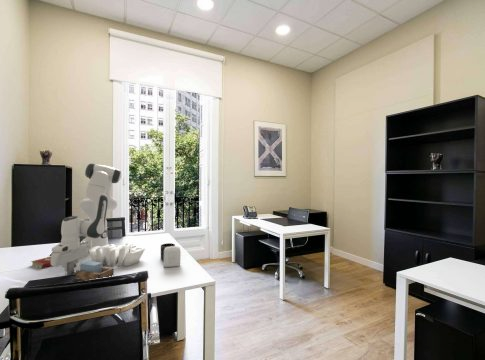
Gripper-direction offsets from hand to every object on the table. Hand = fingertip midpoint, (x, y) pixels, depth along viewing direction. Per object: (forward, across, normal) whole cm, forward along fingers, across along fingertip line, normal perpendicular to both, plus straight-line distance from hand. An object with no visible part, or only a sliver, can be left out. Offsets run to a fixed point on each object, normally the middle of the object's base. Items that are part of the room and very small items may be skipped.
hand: (70, 269), depth 142 cm
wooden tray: (+3, 0, +17) cm, 17 cm away
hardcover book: (+3, -11, -25) cm, 27 cm away
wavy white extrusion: (+3, -24, +10) cm, 26 cm away
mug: (+3, -41, +38) cm, 56 cm away
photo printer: (+3, -29, +48) cm, 56 cm away
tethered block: (+3, 0, +15) cm, 15 cm away
